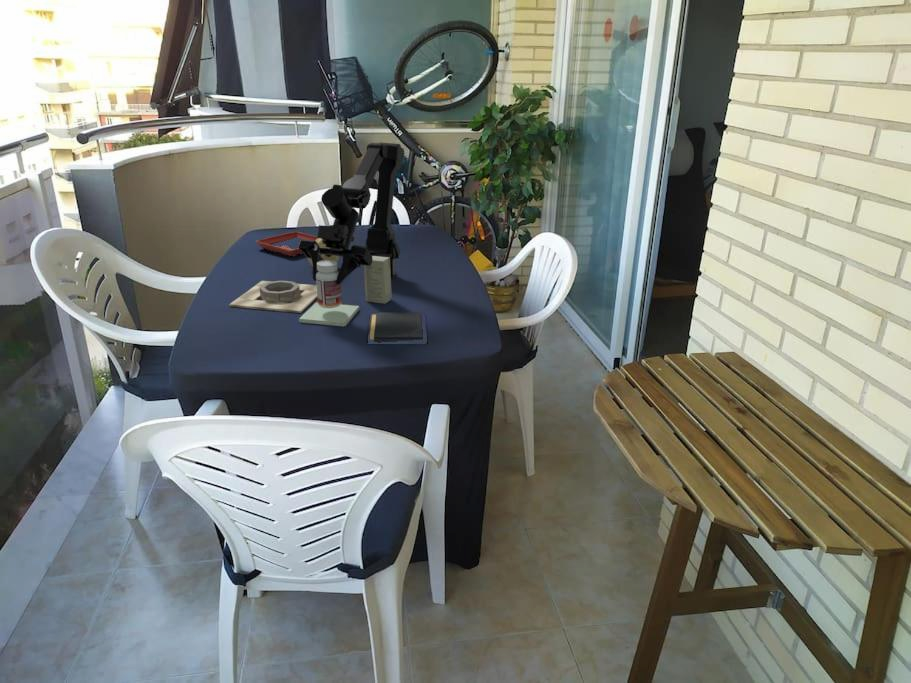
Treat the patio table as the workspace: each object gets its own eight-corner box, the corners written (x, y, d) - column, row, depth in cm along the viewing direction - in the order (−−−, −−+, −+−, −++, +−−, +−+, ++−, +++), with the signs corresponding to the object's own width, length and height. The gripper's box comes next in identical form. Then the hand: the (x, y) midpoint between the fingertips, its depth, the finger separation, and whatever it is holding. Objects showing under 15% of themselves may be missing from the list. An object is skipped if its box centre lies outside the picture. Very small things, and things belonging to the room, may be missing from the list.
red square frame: (296, 239, 235) (295, 230, 233) (331, 248, 225) (330, 239, 224) (255, 250, 221) (254, 240, 220) (291, 260, 212) (290, 250, 211)
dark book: (428, 340, 153) (363, 339, 152) (428, 347, 153) (363, 347, 153) (427, 309, 171) (370, 308, 170) (427, 316, 172) (370, 315, 171)
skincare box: (392, 299, 180) (391, 257, 175) (385, 304, 177) (384, 261, 172) (371, 296, 182) (370, 254, 177) (364, 301, 179) (362, 258, 174)
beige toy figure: (302, 275, 197) (300, 241, 193) (312, 263, 208) (310, 231, 204) (334, 276, 197) (333, 242, 193) (342, 264, 208) (341, 232, 204)
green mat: (359, 309, 173) (359, 306, 172) (344, 326, 162) (344, 322, 161) (316, 305, 174) (316, 302, 174) (299, 322, 164) (299, 318, 163)
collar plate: (327, 288, 187) (326, 278, 186) (300, 313, 169) (300, 302, 168) (262, 282, 190) (261, 272, 189) (229, 306, 172) (228, 295, 171)
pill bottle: (346, 302, 169) (344, 261, 164) (333, 310, 163) (331, 267, 159) (326, 298, 171) (323, 257, 166) (313, 306, 165) (310, 264, 161)
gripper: (298, 208, 163) (279, 262, 158) (366, 215, 158) (348, 271, 153) (316, 230, 173) (298, 282, 168) (380, 238, 168) (363, 291, 163)
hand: (325, 281), depth 163 cm, fingers closed on pill bottle, 6 cm apart
